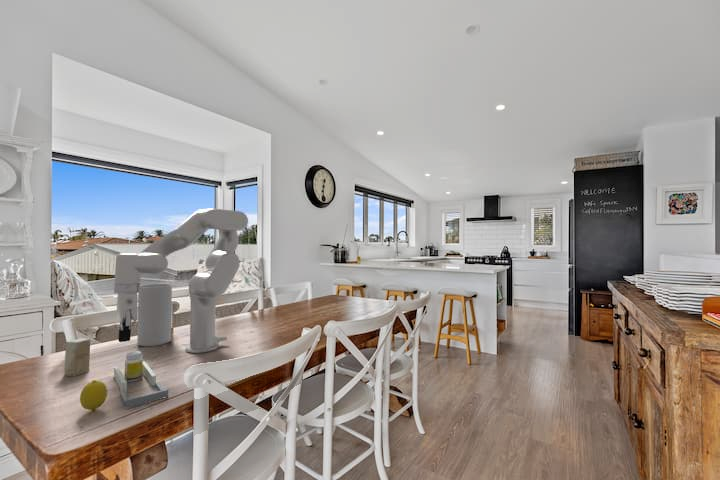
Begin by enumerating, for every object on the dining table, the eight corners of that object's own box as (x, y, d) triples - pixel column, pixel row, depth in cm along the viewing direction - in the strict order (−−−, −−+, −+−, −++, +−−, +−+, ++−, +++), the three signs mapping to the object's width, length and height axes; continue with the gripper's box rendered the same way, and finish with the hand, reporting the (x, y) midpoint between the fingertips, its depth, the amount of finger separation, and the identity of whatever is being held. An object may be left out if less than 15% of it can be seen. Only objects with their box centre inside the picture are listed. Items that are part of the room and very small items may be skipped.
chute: (144, 369, 116) (144, 360, 116) (155, 385, 104) (156, 375, 104) (114, 376, 110) (114, 366, 110) (122, 393, 98) (122, 383, 98)
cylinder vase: (177, 340, 150) (178, 285, 150) (149, 348, 138) (150, 288, 139) (158, 337, 155) (159, 283, 155) (130, 344, 144) (131, 286, 144)
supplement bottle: (145, 377, 109) (145, 352, 109) (130, 383, 105) (130, 356, 105) (136, 375, 111) (136, 349, 111) (121, 380, 107) (121, 354, 107)
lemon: (89, 405, 90) (90, 376, 90) (111, 405, 91) (112, 375, 91) (74, 416, 85) (74, 384, 85) (97, 415, 85) (97, 384, 85)
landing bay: (159, 385, 104) (159, 378, 104) (167, 396, 96) (168, 389, 96) (119, 394, 97) (119, 388, 97) (125, 408, 89) (125, 400, 89)
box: (74, 376, 109) (75, 342, 109) (63, 375, 110) (64, 341, 110) (90, 370, 114) (90, 338, 114) (80, 369, 115) (80, 337, 115)
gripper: (144, 290, 115) (141, 344, 114) (135, 285, 125) (133, 335, 125) (117, 291, 109) (114, 347, 109) (111, 286, 120) (108, 338, 120)
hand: (124, 340), depth 117 cm, fingers closed
